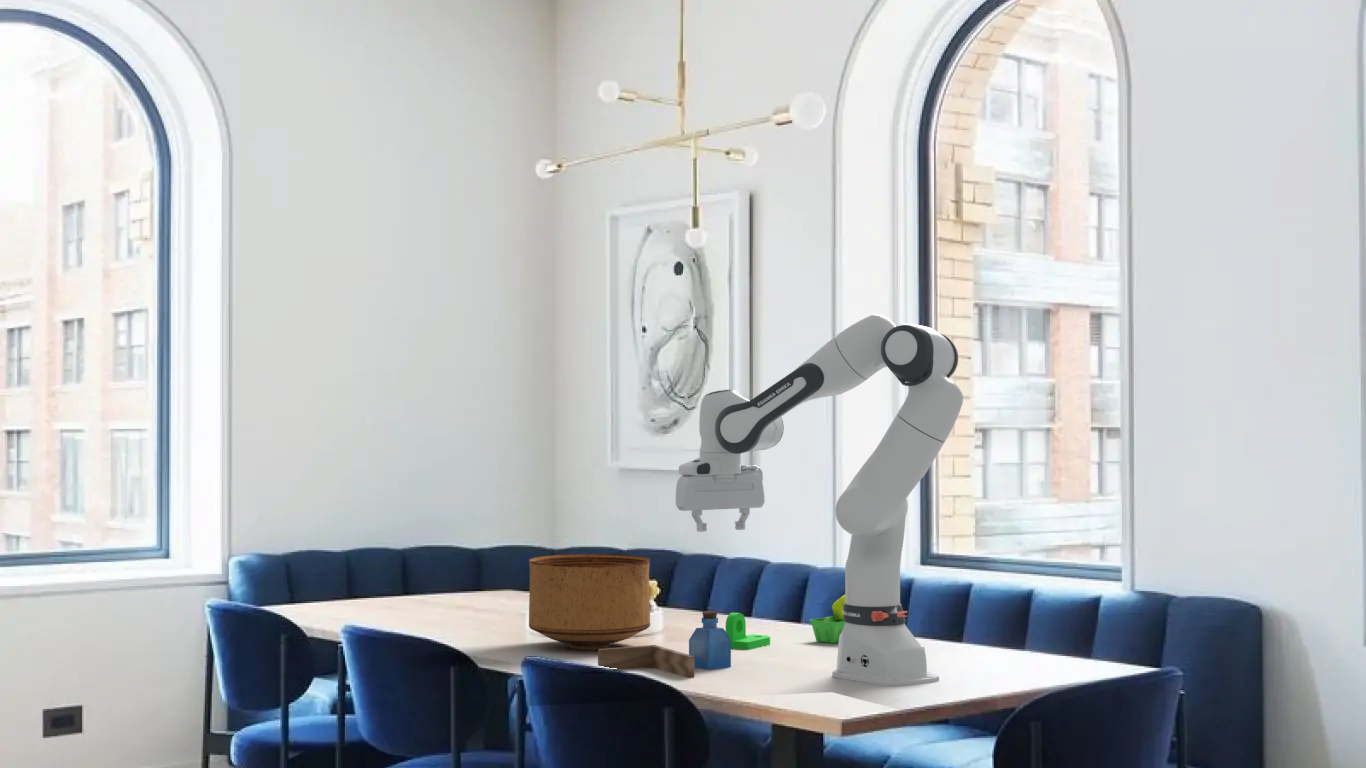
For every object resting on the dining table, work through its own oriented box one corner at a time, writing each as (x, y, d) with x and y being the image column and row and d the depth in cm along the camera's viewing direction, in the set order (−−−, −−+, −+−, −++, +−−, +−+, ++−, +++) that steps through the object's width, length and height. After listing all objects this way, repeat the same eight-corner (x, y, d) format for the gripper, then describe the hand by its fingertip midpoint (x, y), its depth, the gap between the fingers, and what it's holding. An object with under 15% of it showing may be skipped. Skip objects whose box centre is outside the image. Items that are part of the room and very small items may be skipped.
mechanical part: (748, 651, 376) (748, 615, 376) (725, 649, 380) (725, 613, 380) (774, 644, 386) (774, 610, 387) (752, 642, 390) (752, 608, 390)
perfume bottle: (730, 670, 349) (730, 612, 349) (708, 673, 345) (708, 614, 345) (711, 666, 353) (711, 609, 353) (689, 669, 349) (688, 612, 349)
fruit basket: (839, 636, 399) (839, 589, 399) (868, 640, 392) (868, 592, 392) (808, 641, 391) (808, 592, 391) (837, 645, 384) (837, 596, 384)
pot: (518, 641, 391) (518, 555, 391) (633, 636, 398) (633, 552, 399) (541, 658, 364) (542, 566, 365) (664, 653, 372) (664, 563, 372)
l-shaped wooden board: (694, 681, 334) (694, 656, 334) (635, 686, 328) (635, 660, 328) (654, 668, 350) (654, 644, 350) (598, 673, 344) (597, 649, 344)
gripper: (754, 464, 366) (755, 527, 365) (671, 466, 356) (672, 531, 356) (769, 465, 360) (770, 529, 360) (685, 467, 351) (686, 533, 350)
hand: (721, 530), depth 358 cm, fingers open, 8 cm apart
